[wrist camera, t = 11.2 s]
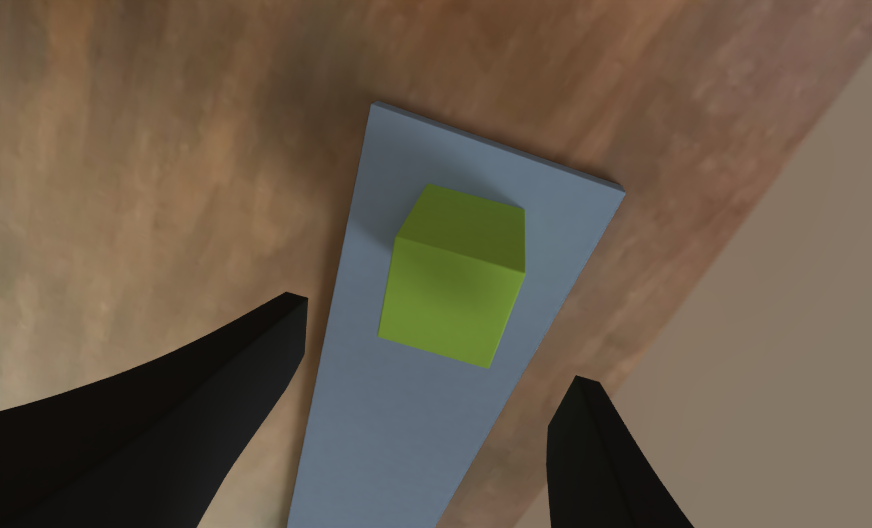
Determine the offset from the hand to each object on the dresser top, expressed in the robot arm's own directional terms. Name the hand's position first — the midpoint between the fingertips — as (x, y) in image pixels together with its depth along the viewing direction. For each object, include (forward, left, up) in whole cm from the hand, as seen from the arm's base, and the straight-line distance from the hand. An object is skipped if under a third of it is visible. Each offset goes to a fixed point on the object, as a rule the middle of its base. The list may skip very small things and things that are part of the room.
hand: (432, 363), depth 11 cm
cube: (0, 0, -8) cm, 8 cm away
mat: (-8, +12, -8) cm, 16 cm away
